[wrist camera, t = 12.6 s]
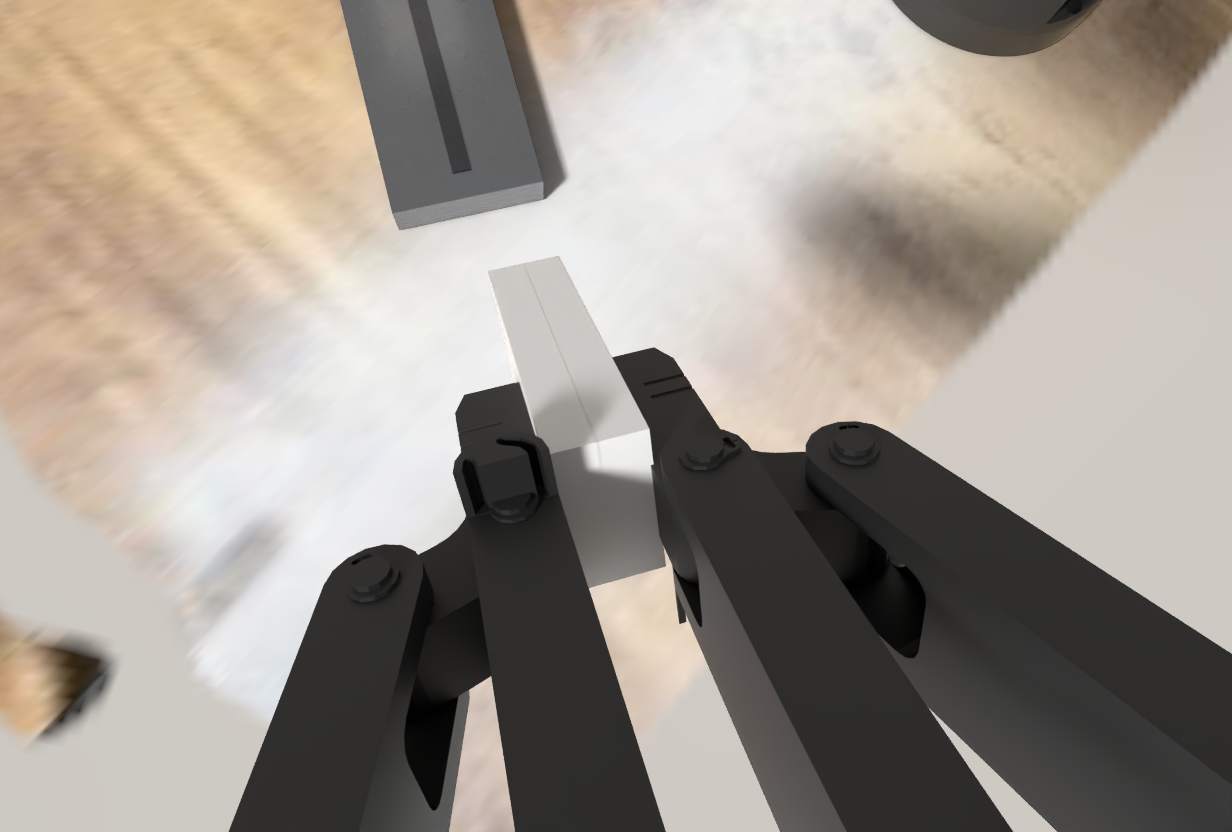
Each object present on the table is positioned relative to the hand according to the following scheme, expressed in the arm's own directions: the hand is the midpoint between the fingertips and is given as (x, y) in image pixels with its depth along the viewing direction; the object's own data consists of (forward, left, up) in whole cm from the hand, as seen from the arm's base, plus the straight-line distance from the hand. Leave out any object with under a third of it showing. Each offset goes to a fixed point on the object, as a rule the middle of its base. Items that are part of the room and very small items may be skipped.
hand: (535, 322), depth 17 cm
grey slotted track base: (+13, -22, -24) cm, 35 cm away
